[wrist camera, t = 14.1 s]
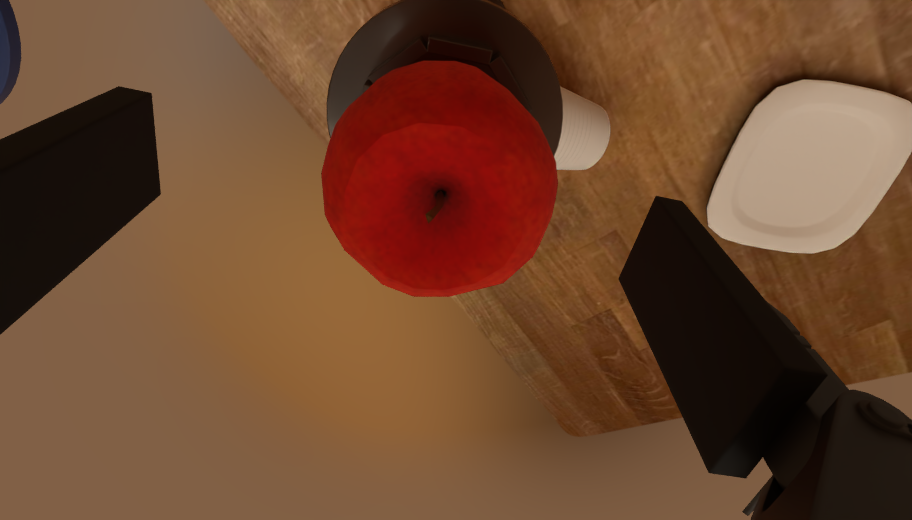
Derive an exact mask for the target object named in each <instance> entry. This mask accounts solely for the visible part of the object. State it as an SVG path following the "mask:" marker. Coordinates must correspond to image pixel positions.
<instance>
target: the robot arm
mask: <svg viewBox="0 0 912 520" xmlns="http://www.w3.org/2000/svg"><path fill="white" fill-rule="evenodd" d="M160 194H161V193H160V181H159V170H158V159H157V149H156V137H155V126H154V116H153V104H152V94H151V93H148V92H143V91H139V90H134V89H129V88H124V87H119V86H118V87H116V88H114V89H112V90H110V91H108V92H106V93H103V94H101V95H98V96H96V97H94V98H92V99H90V100H87V101H85V102H83V103H81V104H78V105H76V106H74V107H72V108H69V109H67V110H65V111H63V112H60V113H58V114H56V115H54V116H52V117H49V118H47V119H45V120H43V121H41V122H38V123H36V124H34V125H31V126H29V127H27V128H25V129H23V130H20V131H18V132H16V133H14V134H11V135H9V136H7V137H5V138H2V139H0V334H2V333H3V332H4V331H5V330H6V329H7V328H8V327H9V326H10V325H12V324H13V323H14V322H15V321H16V320H18V319H19V318H20V317H21V316H22V315H23V314H24V313H26V312H27V311H28V310H29V309H30V308H31V307H32V306H33V305H35V304H36V303H37V302H38V301H39V300H40V299H42V298H43V297H44V296H45V295H46V294H47V293H48V292H50V291H51V290H52V289H53V288H54V287H55V286H56V285H57V284H59V283H60V282H61V281H62V280H63V279H64V278H65V277H67V276H68V275H69V274H70V273H71V272H72V271H73V270H75V269H76V268H77V267H78V266H79V265H80V264H81V263H83V262H84V261H85V260H86V259H87V258H88V257H90V256H91V255H92V254H93V253H94V252H95V251H96V250H98V249H99V248H100V247H101V246H102V245H103V244H104V243H106V242H107V241H108V240H109V239H110V238H111V237H112V236H114V235H115V234H116V233H117V232H118V231H119V230H120V229H122V228H123V227H124V226H125V225H126V224H127V223H128V222H130V221H131V220H132V219H133V218H134V217H135V216H136V215H138V214H139V213H140V212H141V211H142V210H143V209H144V208H145V207H147V206H148V205H149V204H150V203H151V202H152V201H154V200H155V199H156V198H157V197H158V196H159V195H160ZM619 281H620V283H621V285H622V287H623V289H624V292H625V294H626V296H627V298H628V300H629V302H630V304H631V307H632V309H633V311H634V313H635V315H636V317H637V320H638V322H639V324H640V326H641V328H642V330H643V332H644V335H645V337H646V339H647V341H648V343H649V345H650V348H651V350H652V352H653V354H654V356H655V358H656V360H657V363H658V365H659V367H660V369H661V371H662V373H663V375H664V378H665V380H666V382H667V384H668V386H669V388H670V391H671V393H672V395H673V397H674V399H675V401H676V403H677V406H678V408H679V410H680V412H681V414H682V416H683V418H684V421H685V423H686V425H687V427H688V429H689V431H690V434H691V436H692V438H693V440H694V442H695V444H696V446H697V449H698V451H699V453H700V455H701V457H702V459H703V461H704V464H705V466H706V468H707V470H708V472H709V473H713V474H719V475H727V476H734V477H740V478H747V476H748V475H749V474H750V472H751V471H752V470H753V469H754V467H755V466H756V465H757V464H758V462H759V461H760V460H761V459H762V457H763V458H764V460H765V461H766V463H767V465H768V467H769V468H770V470H771V472H772V474H773V475H772V477H771V478H770V479H769V480H768V482H767V483H766V484H765V485H764V486H763V487H762V489H761V490H760V491H759V492H758V493H757V495H756V496H755V497H754V498H753V500H752V501H751V502H750V503H749V504H748V506H747V507H746V508H745V509H744V510H743V513H745V514H746V515H749V514H750V513H751V512H753V511H754V512H753V515H752V517H751V520H912V420H911V419H909V417H907V416H906V415H905V414H904V413H903V412H901V411H900V410H899V409H897V408H895V407H894V406H892V405H891V404H889V403H887V402H886V401H884V400H882V399H880V398H878V397H875V396H873V395H871V394H869V393H865V392H861V391H857V390H849V389H848V388H847V387H846V386H845V385H844V383H843V382H842V381H841V380H840V379H839V378H838V376H837V375H836V374H835V373H834V372H833V371H832V369H831V368H830V367H829V366H828V365H827V364H826V362H825V361H824V360H823V359H822V358H821V357H820V355H819V354H818V353H817V352H816V351H815V350H814V349H811V347H812V346H811V345H810V344H809V343H808V341H807V340H806V339H805V338H804V337H803V336H800V332H799V331H798V330H797V329H796V327H795V326H794V325H793V324H792V323H791V322H790V320H789V319H788V318H787V317H786V316H785V315H783V314H782V313H781V312H780V311H778V310H777V309H776V308H774V307H773V306H772V305H770V304H769V303H768V302H766V301H765V299H764V298H763V297H762V296H761V295H760V293H759V292H758V291H757V290H756V289H755V287H754V286H753V285H752V284H751V283H750V281H749V280H748V279H747V278H746V277H745V275H744V274H743V273H742V272H741V271H740V269H739V268H738V267H737V266H736V265H735V264H734V262H733V261H732V260H731V259H730V258H729V256H728V255H727V254H726V253H725V252H724V250H723V249H722V248H721V247H720V246H719V244H718V243H717V242H716V241H715V240H714V238H713V237H712V236H711V235H710V234H709V233H708V231H707V230H706V229H705V228H704V227H703V225H702V224H701V223H700V222H699V221H698V219H697V218H696V217H695V216H694V215H693V213H692V212H691V211H690V210H689V209H688V207H687V206H686V205H685V204H684V203H683V202H682V201H678V200H674V199H669V198H664V197H659V196H656V197H655V199H654V201H653V203H652V206H651V208H650V210H649V212H648V215H647V217H646V219H645V221H644V223H643V226H642V228H641V230H640V232H639V235H638V237H637V239H636V241H635V243H634V246H633V248H632V250H631V252H630V254H629V257H628V259H627V261H626V263H625V266H624V268H623V270H622V272H621V274H620V277H619Z"/></svg>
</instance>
